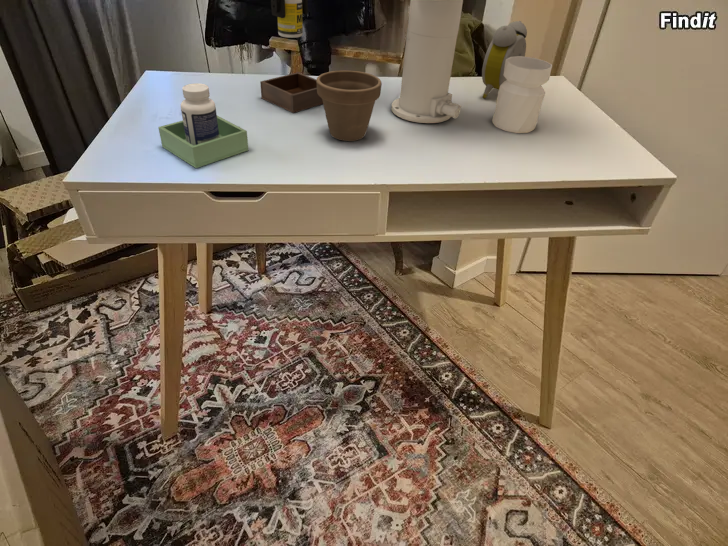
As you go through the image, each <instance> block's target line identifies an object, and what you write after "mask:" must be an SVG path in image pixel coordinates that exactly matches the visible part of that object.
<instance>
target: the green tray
mask: <svg viewBox="0 0 728 546" xmlns="http://www.w3.org/2000/svg"><path fill="white" fill-rule="evenodd" d="M217 122H218V129H219V137H220V138H217V139H214V140H210V141H207V142H204V143H201V144H198V145H194V146H193V145H192V144H190V143H188V142H187V141H186V135H185V130H184V124H183V119H182V120H179V121H175V122H172V123H168V124H165V125H160V126H158V133H159V138H160V143H161V147H162V148H164V149H165V150H167V151H168V152H170V153H171V154H172V155H175V156H176V157H177V158H179V159H180V160H182V161H184V162H185V163H186V164H188V165H190V166H192V167H193V168H195V169H198V168H201V167H204V166H207V165H210V164H213V163H216V162H219V161H221V160H224V159H228V158H229V157H233V156H236V155H239V154H242V153H245V152H249V140H248V131H247V130H246V129H244V128H242V127H240V126H238V125H236V124H235V123H233V122H231V121H228V120H227V119H225V118H223V117H221V116H219V115H217Z"/></svg>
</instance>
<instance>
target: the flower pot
mask: <svg viewBox="0 0 728 546" xmlns="http://www.w3.org/2000/svg"><path fill="white" fill-rule="evenodd" d="M316 83H317V93H318V95H319V96H320V97H321V98H322V101H323V104H322V105H323V109H324V114H325V118H326V123H327V127H328V131H329V133H330V136H331V137H332V138H334V139H336V140H338V141H343V142H354V141H355V142H356V141H359V140H361V139H363V138H364V137H365V136H366V134H367V131H368V128H369V124H370V121H371V117H372V114H373V110H374V107H375V103H376V101H378V100H379V98H380V97H381V94H382V80H381V79H380V78H379V77H378V76H376V75H375V74H372V73H368V72H365V71H358V70H345V69H344V70H343V69H342V70H332V71H328V72H327V71H326V72H324V73H321V74H320V75H318V76H317V77H316Z"/></svg>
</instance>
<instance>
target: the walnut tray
mask: <svg viewBox="0 0 728 546" xmlns="http://www.w3.org/2000/svg"><path fill="white" fill-rule="evenodd" d="M316 80H317V78H314V77H311V76H308V75H306V74H304V73H301V72H297V71H296V72H294V73H289V74H284V75H281V76H277V77H273V78H269V79H264V80H262V81H259V82H260V84H259V85H260V96H261V97H260V98H261V99H262V100H264V101H266V102H269V103H271V104H273V105H275V106H277V107H280V108H281V109H283V110H286V111H288V112H290V113H292V114H295V113H298V112H301V111H304V110H307V109H311V108H315V107H318V106H320V105H323V101H322V98H321V97H320V96H319V95H318V93H317V83H316Z"/></svg>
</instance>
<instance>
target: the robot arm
mask: <svg viewBox="0 0 728 546" xmlns="http://www.w3.org/2000/svg"><path fill="white" fill-rule="evenodd" d="M463 3H464V0H410V1H409V10H408V12H409V13H408V20H407V27H406V28H407V29H406V36H405V46H404V56H403V65H402V66H403V67H402V76H401V84H400V93H399V98H396V99H394V100H393V101H392V103H391V110H390V111H391V112H392V113H393V115H395V116H397V117H398V118H400V119H402V120H404V121H408V122H412V123H418V124H438V123H442V122H447V121H448V120H449V119H451V118H453V119H457V118H459V116H460V112H461V110H462V105H461V104H458V103H454V102H453V100H452V98H453V93H451V92H449V89H450V82H451V76H452V71H453V70H452V69H453V63H454V58H455V51H456V46H457V41H458V34H459V30H460V23H461V16H462V10H463ZM270 9H271V15H272V16H274V17H276V18H278V17H280V18H285V0H270ZM308 13H309V0H302V15H308Z"/></svg>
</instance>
